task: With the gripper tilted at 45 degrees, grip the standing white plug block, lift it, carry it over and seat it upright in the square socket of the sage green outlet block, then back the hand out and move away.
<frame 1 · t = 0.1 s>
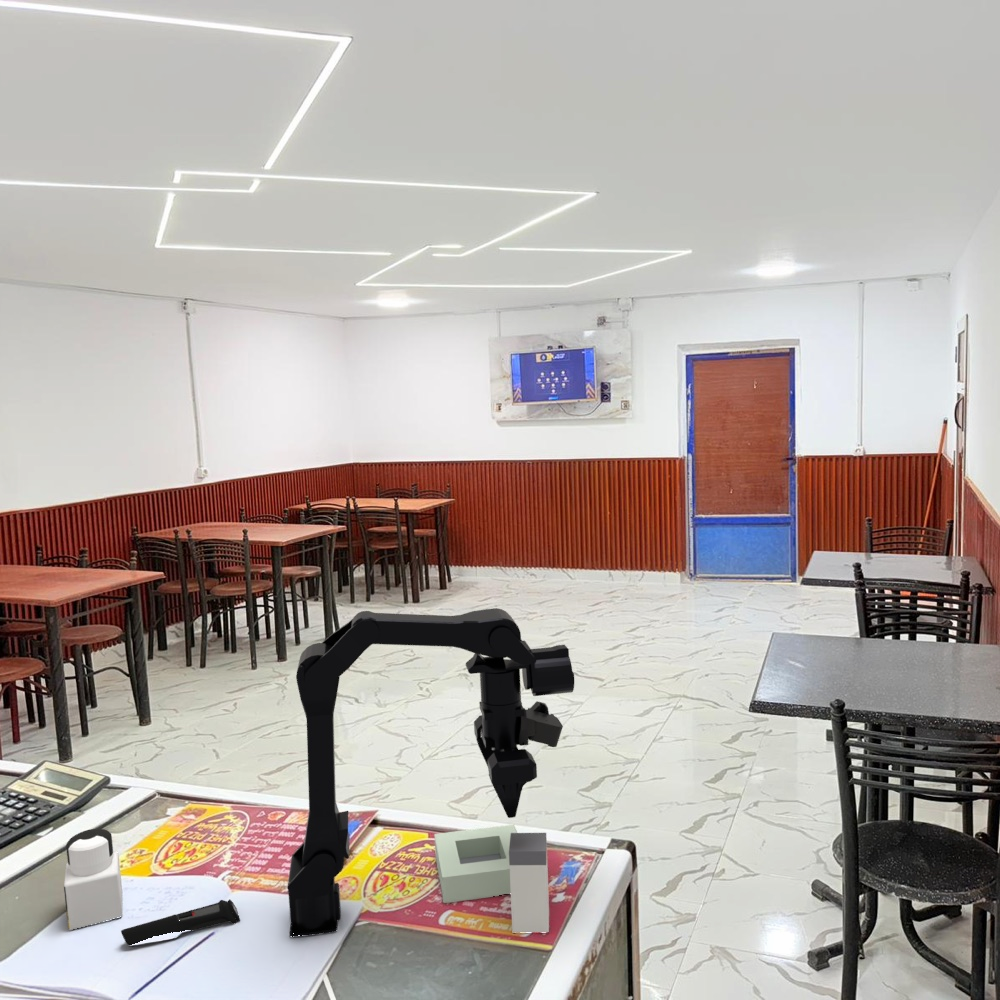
hand: (506, 802, 127), 15 cm above the counter, tool pointing down, fingers open, 9 cm apart
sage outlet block: (481, 873, 136), on the counter
white plug block: (531, 922, 123), on the counter
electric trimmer: (185, 934, 124), on the counter
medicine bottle: (96, 913, 130), on the counter
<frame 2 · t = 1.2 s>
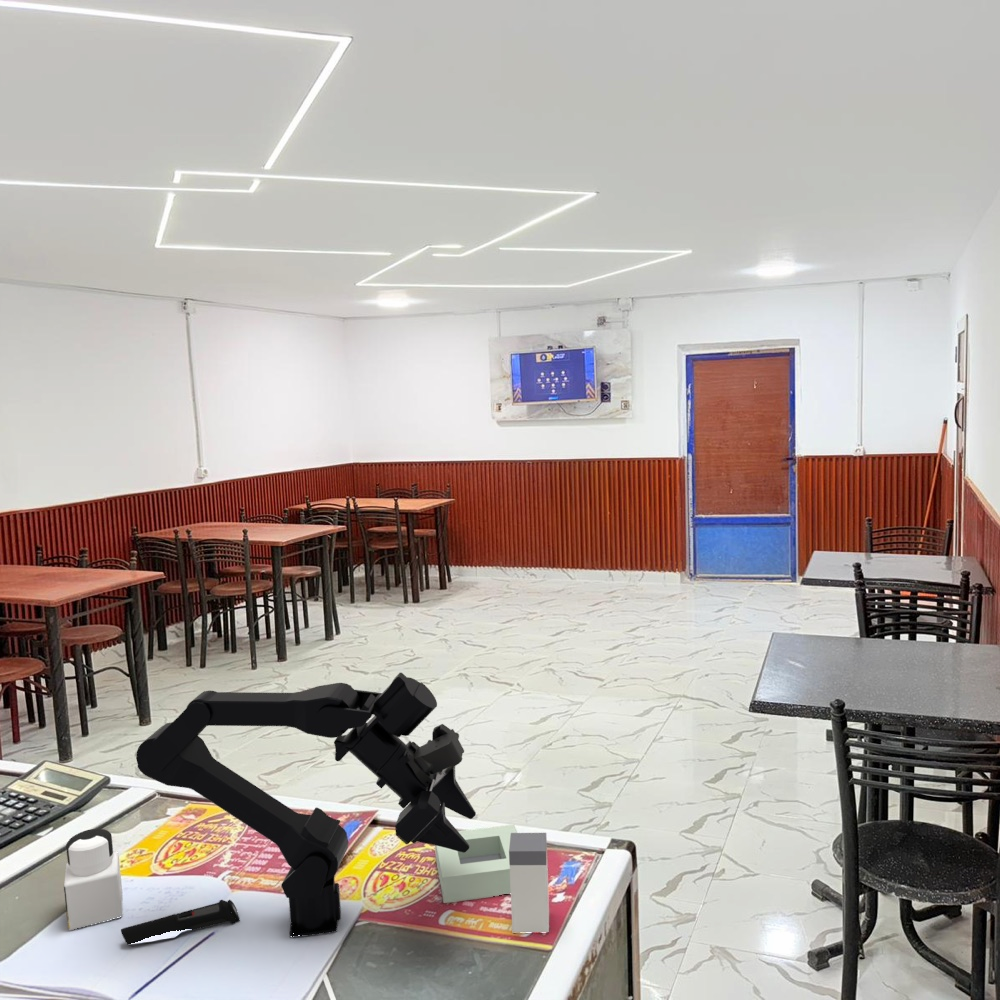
hand: (470, 832, 122), 13 cm above the counter, tool tilted 45°, fingers open, 9 cm apart
nothing on the counter moved.
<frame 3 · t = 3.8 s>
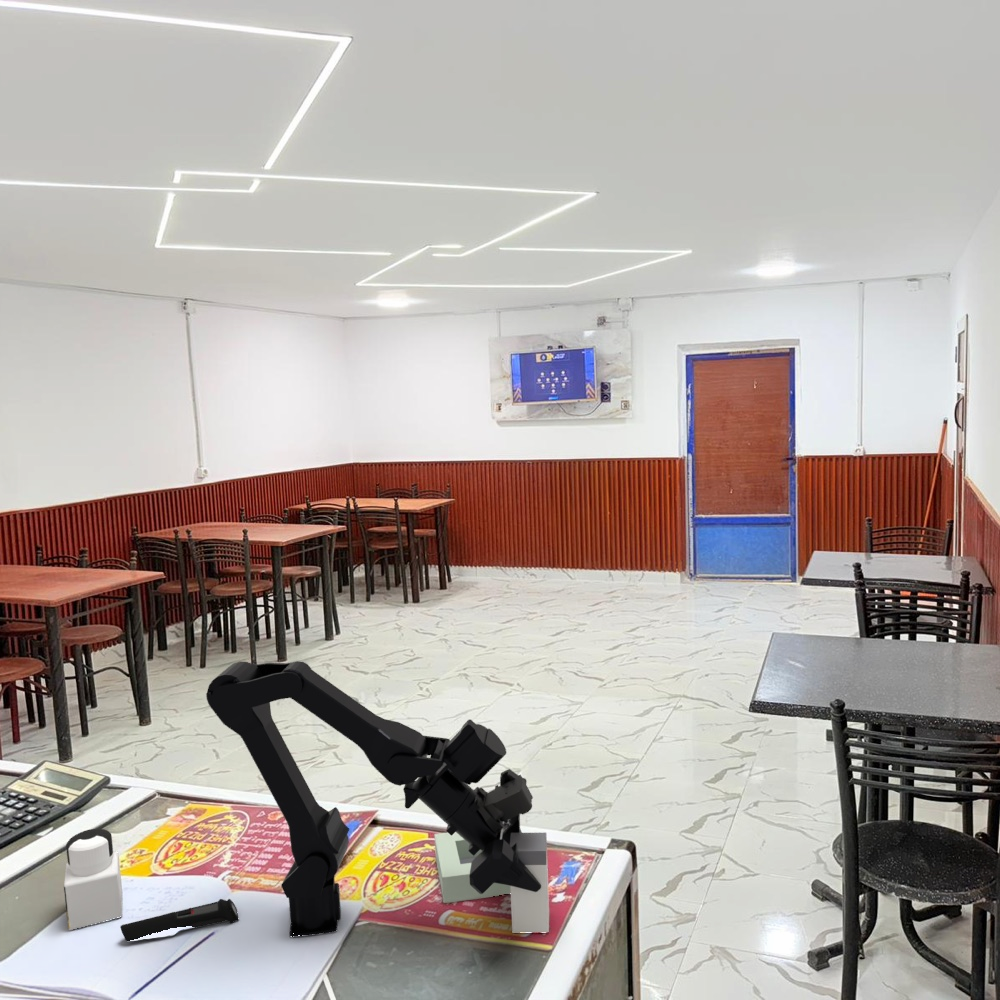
hand: (539, 878, 122), 7 cm above the counter, tool tilted 45°, fingers closed on white plug block, 5 cm apart
white plug block: (531, 922, 123), on the counter, touching gripper
everything else where it was.
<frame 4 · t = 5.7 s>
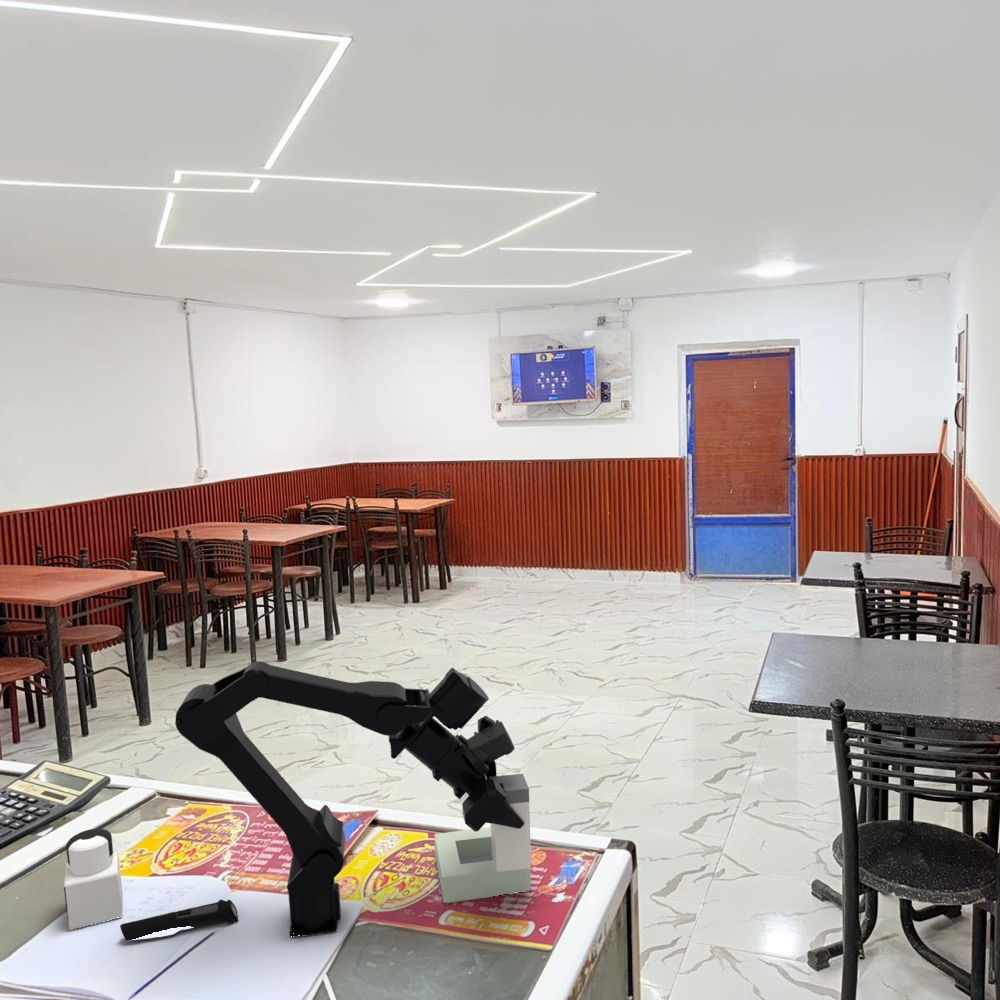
hand: (519, 816, 128), 12 cm above the counter, tool tilted 45°, fingers closed on white plug block, 5 cm apart
white plug block: (511, 860, 128), point 6 cm above the counter, touching gripper
everything else where it was.
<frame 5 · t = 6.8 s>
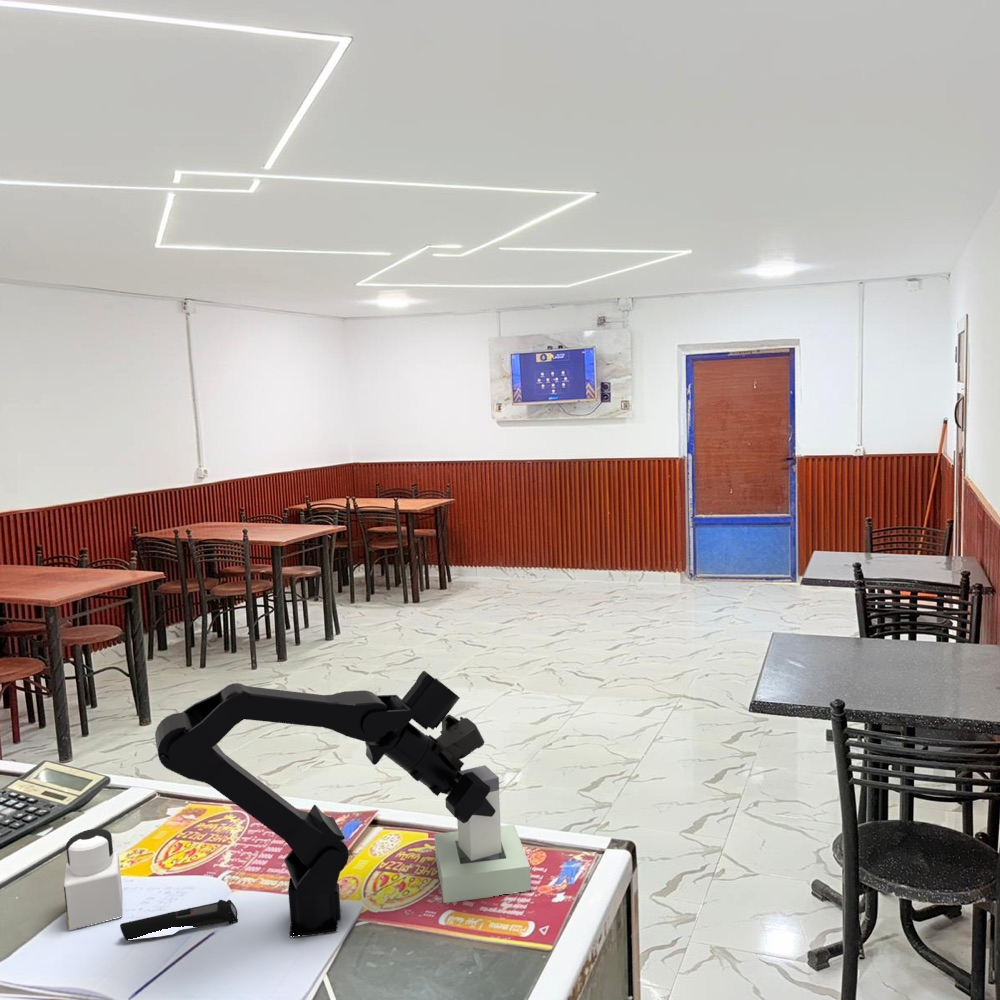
hand: (486, 806, 135), 11 cm above the counter, tool tilted 45°, fingers closed on white plug block, 5 cm apart
white plug block: (479, 849, 135), point 4 cm above the counter, touching gripper
everything else where it was.
when the fingers open (9 cm above the counter, at t = 7.5 s): white plug block drops 1 cm, resting on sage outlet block.
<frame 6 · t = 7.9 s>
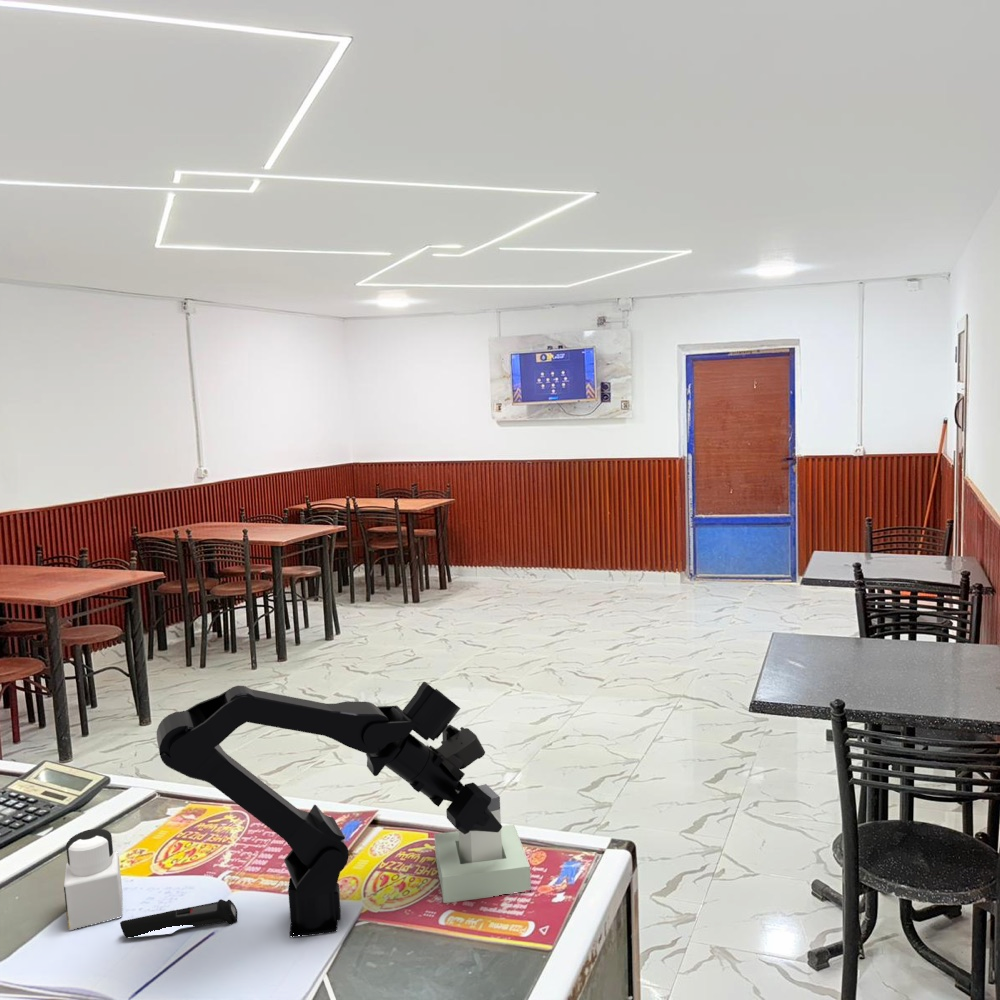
hand: (487, 816, 135), 9 cm above the counter, tool tilted 45°, fingers open, 9 cm apart
white plug block: (481, 867, 136), point 1 cm above the counter, touching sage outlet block
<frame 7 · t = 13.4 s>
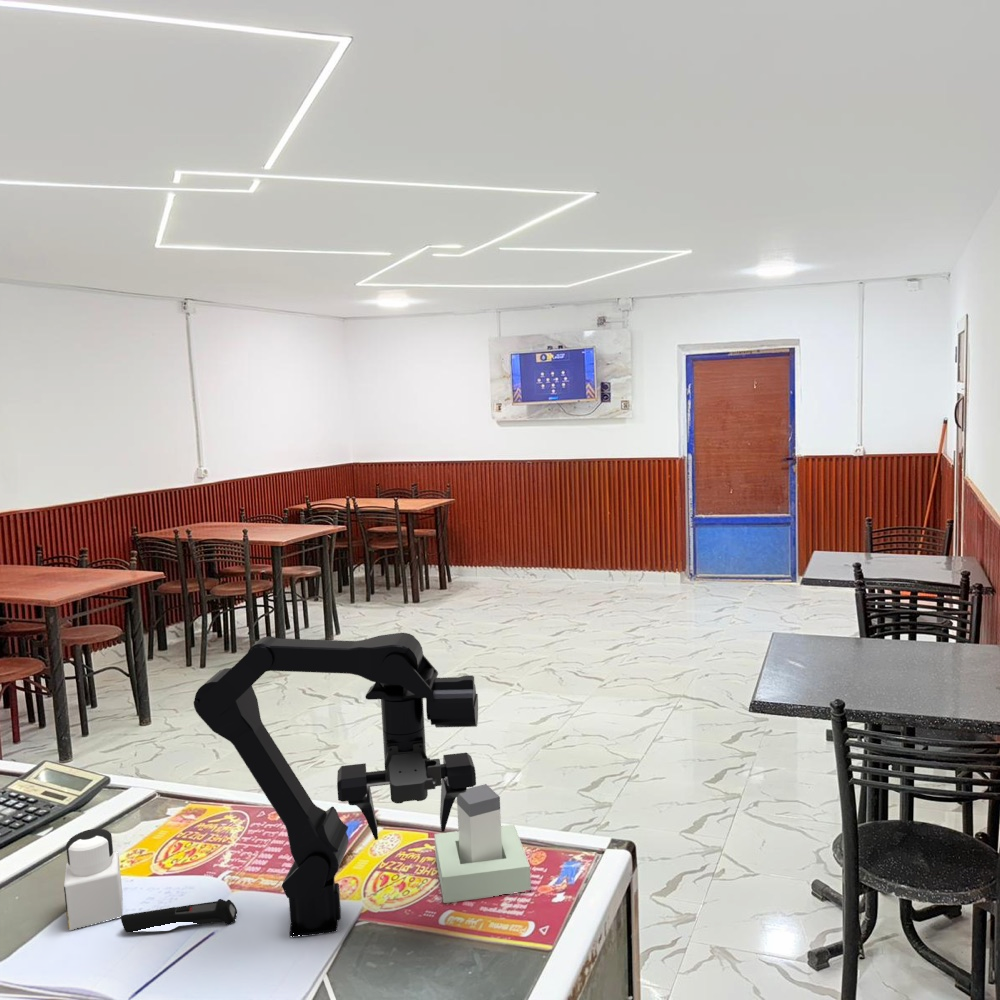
hand: (409, 834, 123), 13 cm above the counter, tool pointing down, fingers open, 9 cm apart
at the end: white plug block 0.0 cm off-centre on the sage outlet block, point 1.0 cm above the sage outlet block's base; white plug block tilted 0°; the gripper is holding nothing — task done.
